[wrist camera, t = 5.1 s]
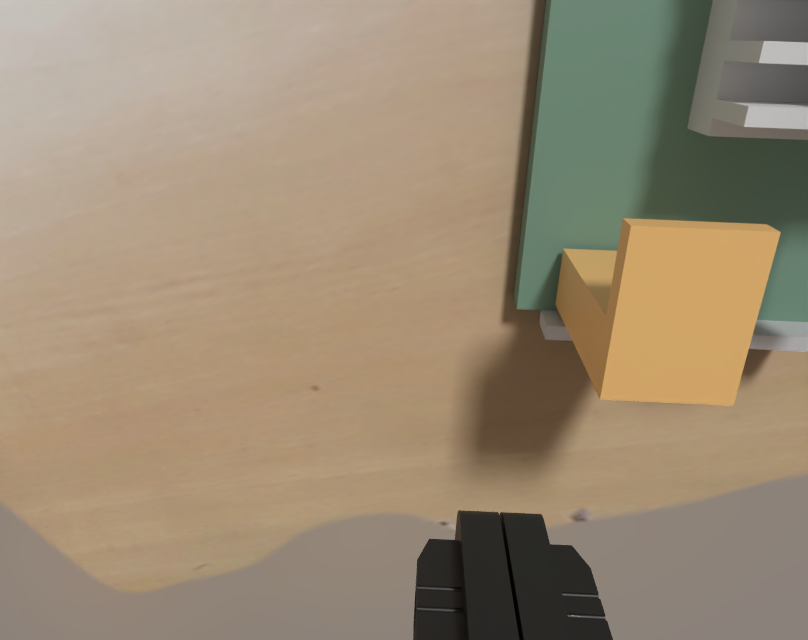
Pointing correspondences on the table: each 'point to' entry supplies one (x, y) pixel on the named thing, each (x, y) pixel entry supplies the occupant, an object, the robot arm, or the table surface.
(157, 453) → the table surface
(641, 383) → the clip
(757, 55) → the slotted rack on board
